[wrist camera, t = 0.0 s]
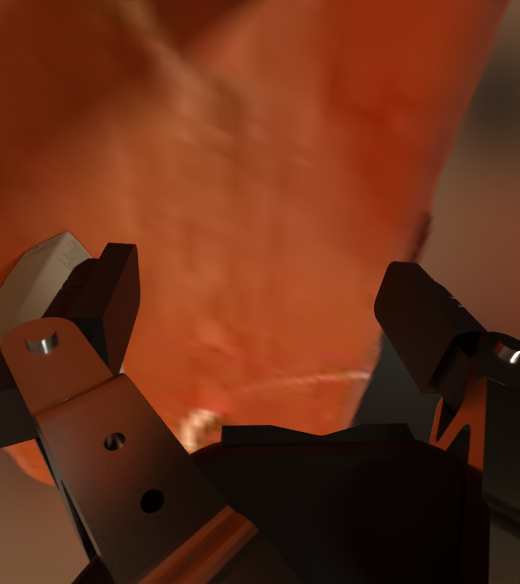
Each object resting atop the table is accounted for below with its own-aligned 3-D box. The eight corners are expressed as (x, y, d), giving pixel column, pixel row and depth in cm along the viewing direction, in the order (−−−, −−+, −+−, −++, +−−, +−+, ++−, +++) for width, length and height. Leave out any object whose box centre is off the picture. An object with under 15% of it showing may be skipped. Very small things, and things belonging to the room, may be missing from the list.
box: (25, 249, 29) (-80, 376, 18) (70, 228, 28) (-14, 348, 18) (71, 294, 32) (3, 425, 22) (112, 276, 31) (62, 403, 21)
